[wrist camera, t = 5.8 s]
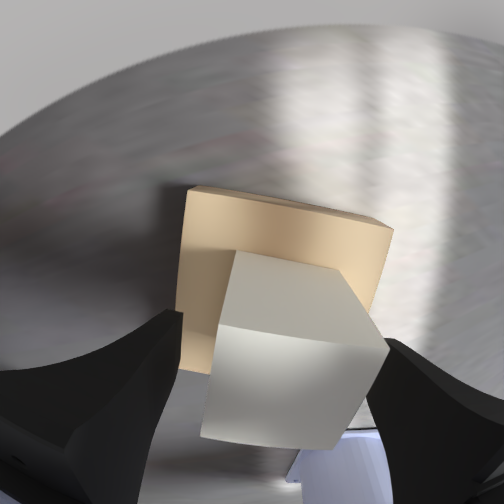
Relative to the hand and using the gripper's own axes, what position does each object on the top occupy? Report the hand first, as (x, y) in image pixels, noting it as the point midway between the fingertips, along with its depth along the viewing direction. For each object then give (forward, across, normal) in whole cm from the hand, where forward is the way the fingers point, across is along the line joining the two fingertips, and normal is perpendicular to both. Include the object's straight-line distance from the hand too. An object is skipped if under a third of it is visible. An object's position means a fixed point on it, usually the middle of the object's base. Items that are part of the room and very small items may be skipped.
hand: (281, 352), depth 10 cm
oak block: (+6, 0, 0) cm, 6 cm away
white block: (+3, 0, 0) cm, 3 cm away
